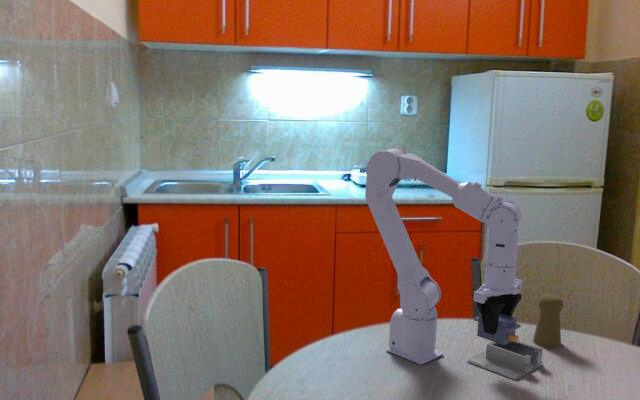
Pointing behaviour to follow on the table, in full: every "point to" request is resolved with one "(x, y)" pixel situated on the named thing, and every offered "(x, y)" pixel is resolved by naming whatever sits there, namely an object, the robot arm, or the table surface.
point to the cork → (548, 322)
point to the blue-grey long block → (500, 330)
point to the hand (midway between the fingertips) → (495, 330)
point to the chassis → (509, 359)
